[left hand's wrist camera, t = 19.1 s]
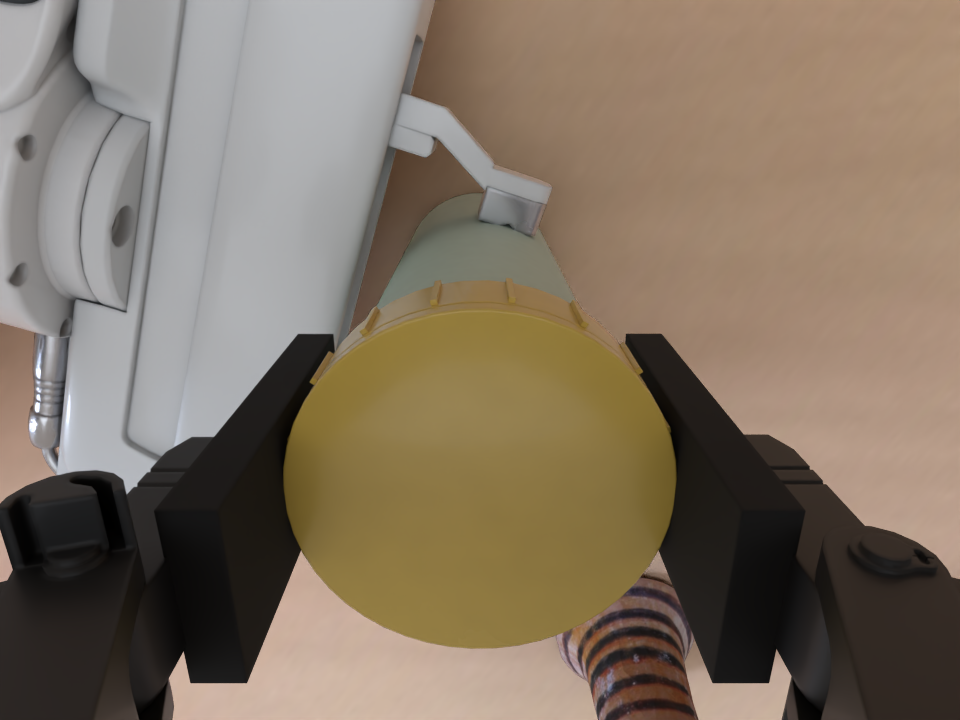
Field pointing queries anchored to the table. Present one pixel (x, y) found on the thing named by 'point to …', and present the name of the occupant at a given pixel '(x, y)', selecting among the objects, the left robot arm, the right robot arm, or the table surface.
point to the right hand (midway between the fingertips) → (505, 316)
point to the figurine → (635, 656)
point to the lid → (479, 467)
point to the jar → (473, 254)
